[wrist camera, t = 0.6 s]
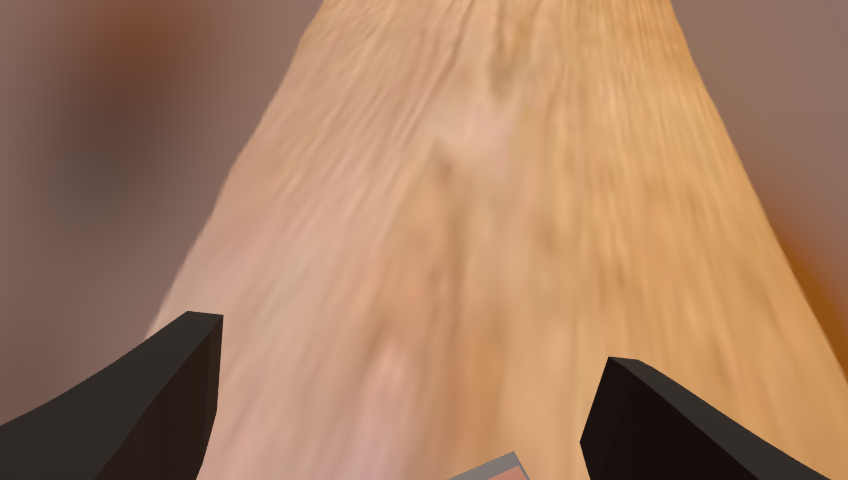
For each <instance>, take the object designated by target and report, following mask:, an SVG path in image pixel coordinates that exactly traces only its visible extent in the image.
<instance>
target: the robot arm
mask: <svg viewBox="0 0 848 480" xmlns="http://www.w3.org/2000/svg"><path fill="white" fill-rule="evenodd" d="M222 329H223V315H219V314H210V313H201V312H192V311H187V312H185V313H184V314H182V315H181V316H179V317H178V318H176V319H175V320H174V321H172V322H171V323H169V324H168V325H166V326H165V327H164V328H162V329H161V330H159V331H158V332H157V333H155V334H154V335H152V336H151V337H150V338H148V339H147V340H145V341H144V342H143V343H141V344H140V345H138V346H137V347H136V348H134V349H133V350H131V351H130V352H128V353H127V354H125V355H124V356H122V357H121V358H120V359H118V360H116V361H115V362H114V363H112V364H111V365H109V366H107V367H106V368H104V369H102V370H101V371H99V372H98V373H96V374H94V375H93V376H91V377H89V378H88V379H86V380H85V381H83V382H81V383H80V384H78V385H76V386H75V387H73V388H71V389H70V390H68V391H66V392H65V393H63V394H61V395H60V396H58V397H56V398H54V399H52V400H50V401H49V402H47V403H45V404H43V405H41V406H39V407H37V408H35V409H34V410H32V411H30V412H28V413H26V414H24V415H22V416H20V417H18V418H16V419H13V420H11V421H9V422H7V423H5V424H3V425H1V426H0V480H196V478H197V476H198V473H199V471H200V468H201V466H202V463H203V460H204V456H205V453H206V449H207V446H208V442H209V438H210V435H211V431H212V427H213V423H214V420H215V416H216V412H217V400H218V386H219V372H220V358H221V343H222ZM580 445H581V449H582V452H583V456H584V460H585V463H586V467H587V470H588V473H589V477H590V480H830V479H829V478H827V477H825V476H823V475H821V474H819V473H818V472H816V471H814V470H812V469H811V468H809V467H807V466H805V465H804V464H802V463H800V462H799V461H797V460H795V459H794V458H792V457H790V456H789V455H787V454H786V453H784V452H782V451H781V450H779V449H777V448H776V447H774V446H772V445H771V444H769V443H768V442H766V441H764V440H763V439H761V438H760V437H758V436H756V435H755V434H753V433H752V432H750V431H749V430H747V429H746V428H744V427H743V426H741V425H739V424H738V423H736V422H735V421H733V420H732V419H730V418H729V417H727V416H726V415H724V414H723V413H721V412H720V411H718V410H717V409H715V408H714V407H712V406H711V405H709V404H708V403H706V402H705V401H703V400H702V399H701V398H699V397H698V396H696V395H695V394H693V393H692V392H690V391H689V390H687V389H686V388H684V387H683V386H681V385H680V384H678V383H677V382H675V381H673V380H672V379H670V378H669V377H667V376H666V375H664V374H663V373H661V372H659V371H658V370H656V369H654V368H653V367H651V366H649V365H647V364H645V363H643V362H641V361H639V360H636V359H626V358H617V357H608V360H607V363H606V366H605V369H604V372H603V374H602V377H601V380H600V383H599V386H598V389H597V392H596V395H595V398H594V401H593V404H592V407H591V410H590V413H589V416H588V419H587V422H586V425H585V428H584V431H583V434H582V437H581V440H580Z"/></svg>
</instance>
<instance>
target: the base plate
mask: <svg viewBox="0 0 848 480" xmlns="http://www.w3.org/2000/svg"><path fill="white" fill-rule="evenodd" d="M516 466H519V467H520V469H521V471H522V472H523V474H524V476H525V477H526V479H527V480H530V479H529V477H528V475H527V474H526V472H525V470H524V468H523V467H522V465H521V463H520V461H519V460H518V458H517V456H516V454H515V453H514V451H513V452H510V453H508V454H506V455H504V456H501V457H499V458H497V459H494V460H492V461H490V462H487V463H485V464H483V465H480V466H478V467H476V468H474V469H471V470H469V471H467V472H464V473H462V474H460V475H457V476H455V477H453V478H450V479H448V480H487V479H490V478H492V477H494V476H496V475H499V474H501V473H503V472H505V471H508V470H510V469H512V468H514V467H516Z"/></svg>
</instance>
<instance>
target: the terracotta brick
mask: <svg viewBox="0 0 848 480" xmlns="http://www.w3.org/2000/svg"><path fill="white" fill-rule="evenodd" d="M487 480H527V479H526V477H525V476H524V474H523V472H522V471H521V469H520V467H519V466H516V467H514V468H512V469H510V470H508V471H505V472H503V473H501V474H499V475H496V476H494V477H492V478H490V479H487Z"/></svg>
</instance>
